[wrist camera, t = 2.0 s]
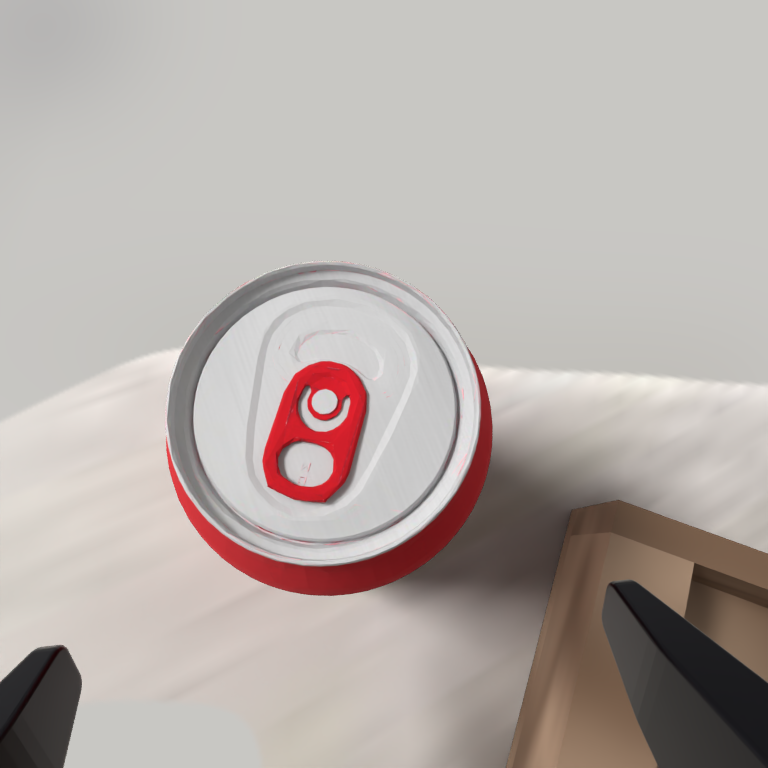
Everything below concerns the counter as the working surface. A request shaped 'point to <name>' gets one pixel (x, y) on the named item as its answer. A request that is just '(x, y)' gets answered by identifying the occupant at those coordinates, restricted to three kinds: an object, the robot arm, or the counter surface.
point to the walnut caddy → (590, 644)
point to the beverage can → (327, 428)
